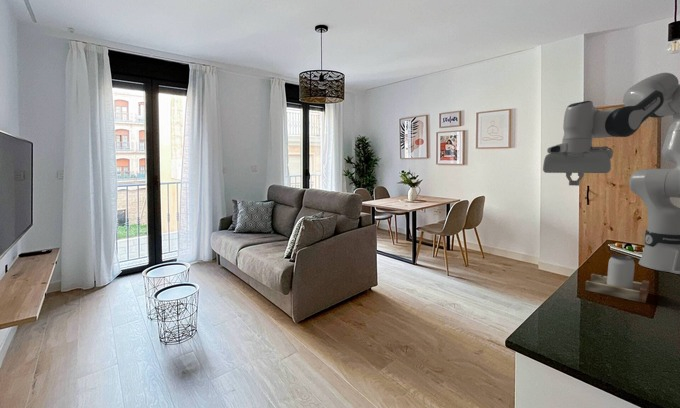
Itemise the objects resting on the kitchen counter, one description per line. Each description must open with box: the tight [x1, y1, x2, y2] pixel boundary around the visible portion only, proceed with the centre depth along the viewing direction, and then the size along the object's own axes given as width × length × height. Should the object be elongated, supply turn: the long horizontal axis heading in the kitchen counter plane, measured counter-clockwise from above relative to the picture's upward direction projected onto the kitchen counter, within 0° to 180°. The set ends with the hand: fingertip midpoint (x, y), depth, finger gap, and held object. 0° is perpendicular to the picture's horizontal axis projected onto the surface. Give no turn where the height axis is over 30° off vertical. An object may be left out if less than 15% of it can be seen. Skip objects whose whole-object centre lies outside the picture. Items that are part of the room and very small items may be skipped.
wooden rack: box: [584, 273, 650, 304], centre depth 109 cm, size 15×10×4 cm
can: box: [606, 254, 635, 289], centre depth 108 cm, size 6×6×12 cm
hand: (574, 185), depth 122 cm, fingers closed
